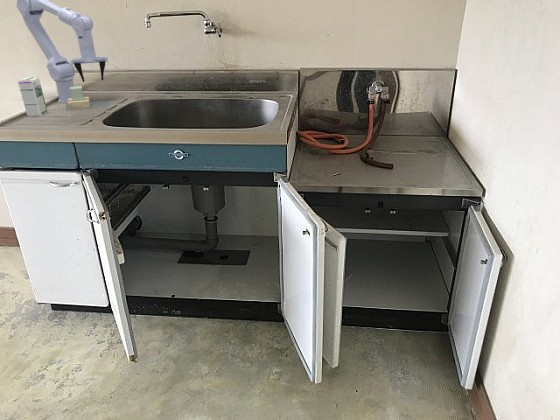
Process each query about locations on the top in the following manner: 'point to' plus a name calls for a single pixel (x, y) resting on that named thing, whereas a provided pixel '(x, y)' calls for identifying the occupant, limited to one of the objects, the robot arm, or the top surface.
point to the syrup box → (32, 96)
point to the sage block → (77, 93)
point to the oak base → (79, 104)
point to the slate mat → (93, 105)
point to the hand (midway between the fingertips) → (93, 80)
